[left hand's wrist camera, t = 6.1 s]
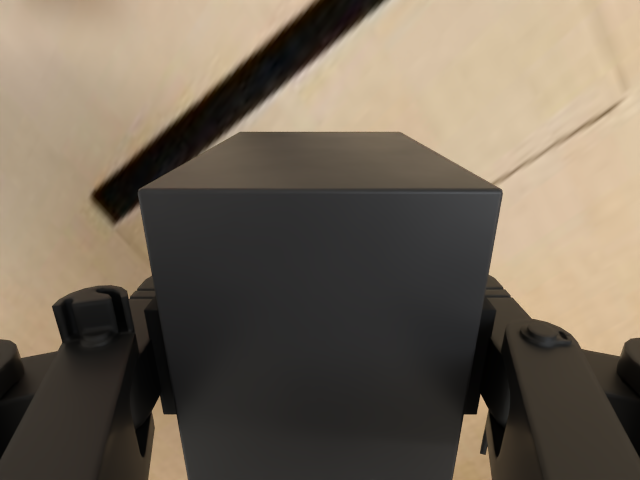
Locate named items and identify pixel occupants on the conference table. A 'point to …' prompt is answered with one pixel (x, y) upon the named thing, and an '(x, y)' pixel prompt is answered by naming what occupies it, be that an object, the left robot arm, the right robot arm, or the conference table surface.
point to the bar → (320, 303)
